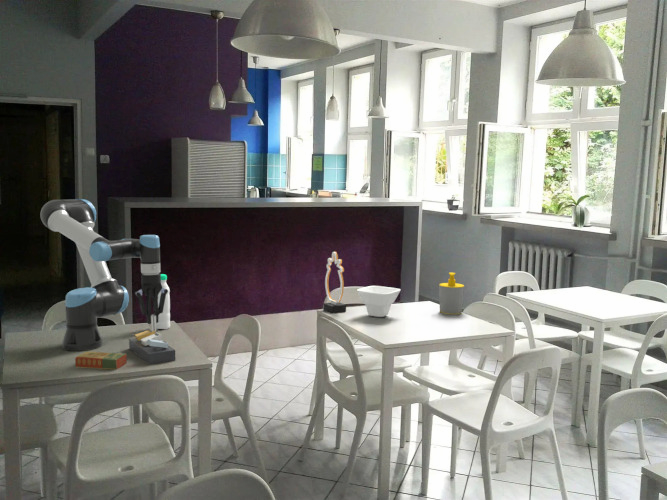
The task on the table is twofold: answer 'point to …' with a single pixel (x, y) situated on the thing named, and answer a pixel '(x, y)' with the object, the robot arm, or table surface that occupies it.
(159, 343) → the rocker blue
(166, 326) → the water bottle
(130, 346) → the power strip
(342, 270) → the lamp
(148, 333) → the rocker amber
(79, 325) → the robot arm
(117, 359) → the carton
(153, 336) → the rocker white
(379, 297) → the bowl
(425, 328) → the table surface
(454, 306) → the soap bottle
